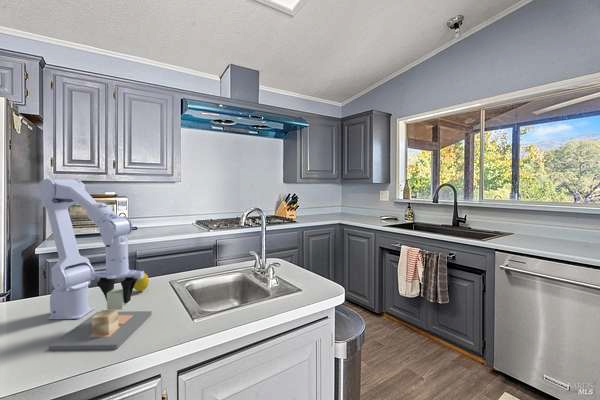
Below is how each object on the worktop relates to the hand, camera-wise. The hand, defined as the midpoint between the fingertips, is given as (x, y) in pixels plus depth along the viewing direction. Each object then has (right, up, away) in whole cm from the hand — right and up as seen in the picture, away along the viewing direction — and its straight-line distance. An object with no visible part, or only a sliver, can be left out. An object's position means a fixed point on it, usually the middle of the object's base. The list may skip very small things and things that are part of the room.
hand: (118, 301), depth 87 cm
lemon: (-7, -5, +25) cm, 27 cm away
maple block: (0, -6, -6) cm, 9 cm away
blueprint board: (-1, -7, -4) cm, 8 cm away
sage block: (0, -1, 0) cm, 1 cm away
